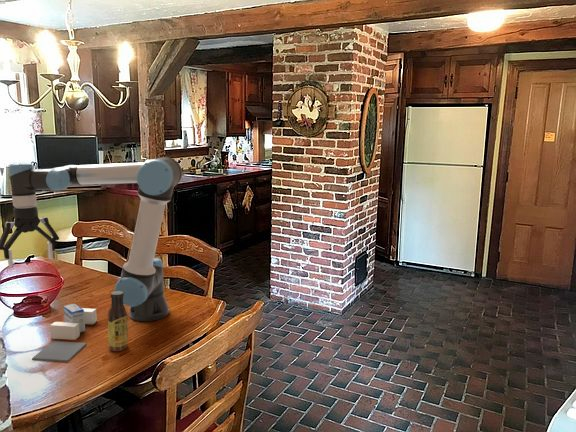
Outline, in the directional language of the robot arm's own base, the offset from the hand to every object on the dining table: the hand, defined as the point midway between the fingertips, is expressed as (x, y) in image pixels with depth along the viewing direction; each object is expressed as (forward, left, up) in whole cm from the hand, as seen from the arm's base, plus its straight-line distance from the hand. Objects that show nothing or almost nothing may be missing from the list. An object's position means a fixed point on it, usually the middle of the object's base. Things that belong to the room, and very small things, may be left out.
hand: (31, 263), depth 173 cm
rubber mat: (-20, +19, -24) cm, 37 cm away
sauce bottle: (-38, +14, -24) cm, 47 cm away
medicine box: (-16, +2, -24) cm, 29 cm away
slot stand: (-16, +2, -24) cm, 29 cm away
